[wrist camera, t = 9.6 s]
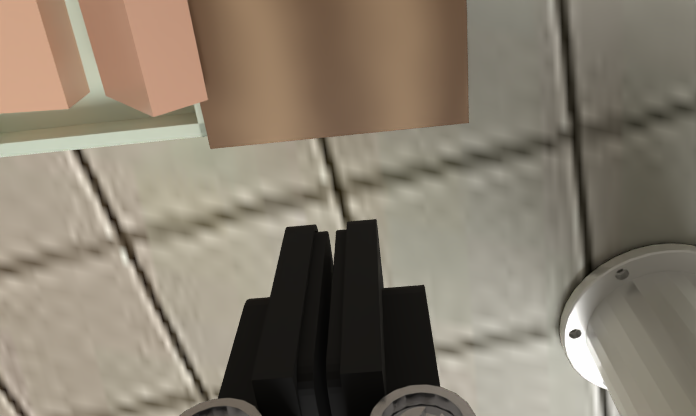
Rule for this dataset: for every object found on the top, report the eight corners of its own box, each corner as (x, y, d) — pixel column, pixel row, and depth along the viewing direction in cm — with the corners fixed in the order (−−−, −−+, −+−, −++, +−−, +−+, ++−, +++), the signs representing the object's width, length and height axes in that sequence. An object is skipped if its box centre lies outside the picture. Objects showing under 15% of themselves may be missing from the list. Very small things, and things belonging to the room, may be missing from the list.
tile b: (-85, 1, 30) (-49, -9, 33) (-40, 116, 33) (-10, 98, 36) (33, -8, 30) (59, -17, 33) (68, 109, 33) (90, 92, 35)
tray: (181, -73, 32) (168, -69, 29) (223, 120, 37) (215, 135, 34) (-92, -39, 33) (-125, -33, 30) (-15, 144, 38) (-38, 161, 35)
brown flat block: (451, -111, 31) (464, -110, 27) (457, 99, 36) (468, 122, 32) (180, -77, 32) (158, -72, 28) (224, 123, 37) (210, 148, 33)
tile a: (181, -26, 28) (119, -14, 26) (208, 100, 31) (153, 117, 29) (128, -30, 32) (72, -20, 31) (156, 81, 35) (105, 95, 33)
